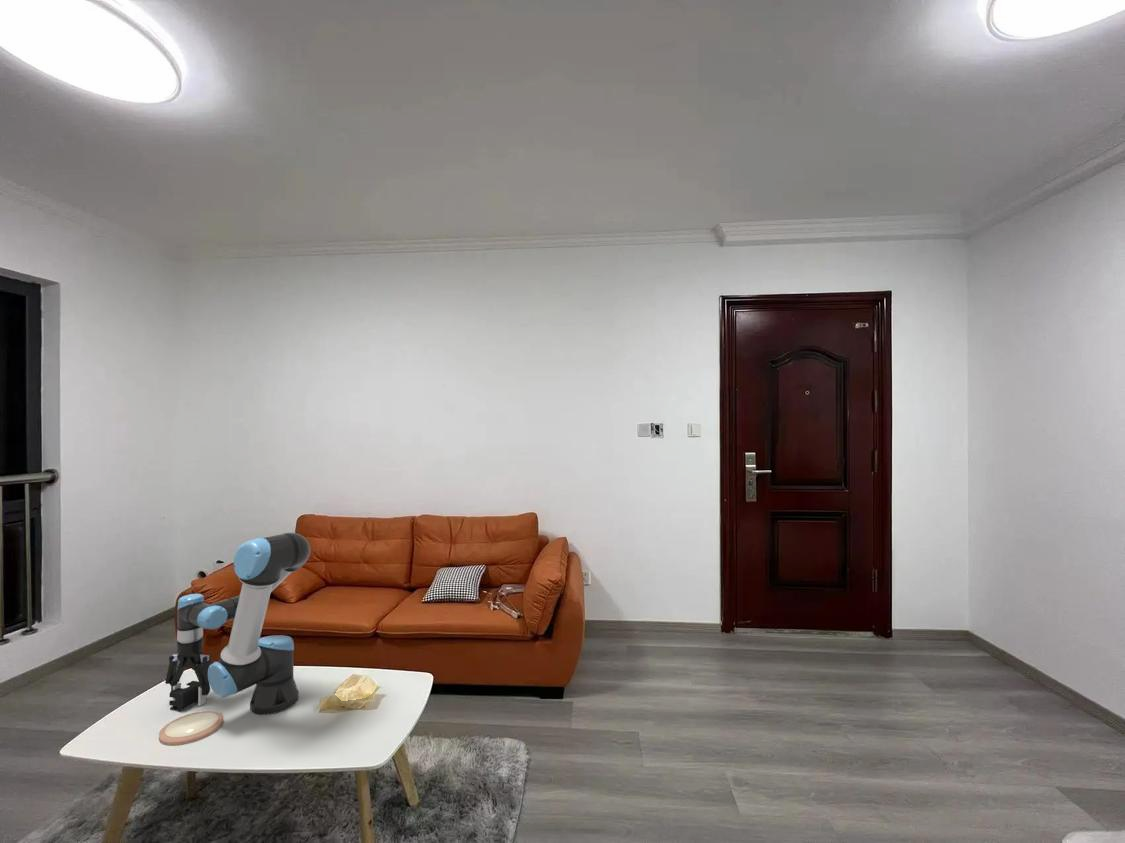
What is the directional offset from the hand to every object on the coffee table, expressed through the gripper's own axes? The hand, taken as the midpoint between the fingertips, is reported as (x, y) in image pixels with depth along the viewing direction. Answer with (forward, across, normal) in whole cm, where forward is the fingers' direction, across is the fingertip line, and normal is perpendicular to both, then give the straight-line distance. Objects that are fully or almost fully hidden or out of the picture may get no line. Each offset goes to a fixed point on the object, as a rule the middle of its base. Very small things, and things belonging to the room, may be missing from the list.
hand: (189, 703), depth 183 cm
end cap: (+1, 0, 0) cm, 1 cm away
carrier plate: (0, -13, +15) cm, 20 cm away
